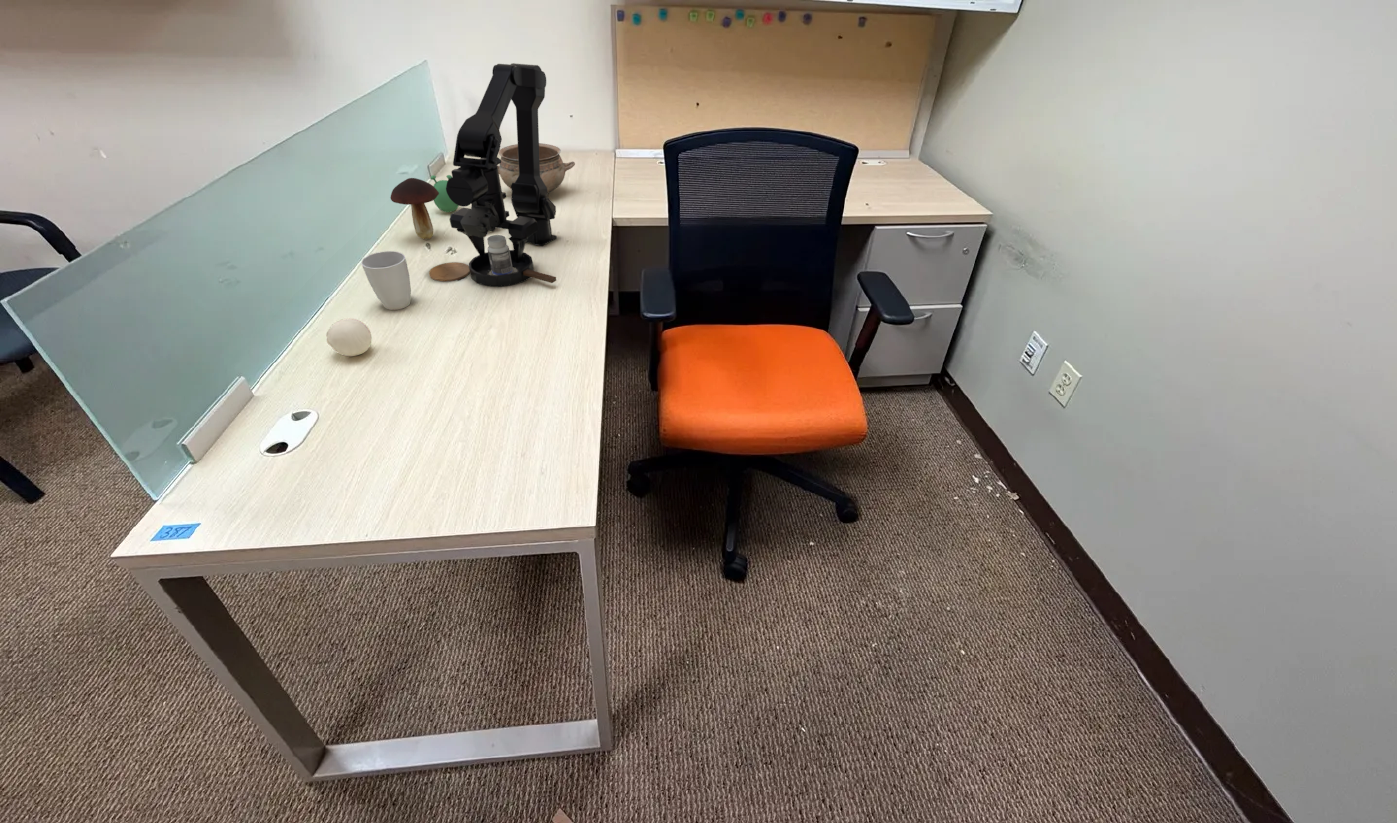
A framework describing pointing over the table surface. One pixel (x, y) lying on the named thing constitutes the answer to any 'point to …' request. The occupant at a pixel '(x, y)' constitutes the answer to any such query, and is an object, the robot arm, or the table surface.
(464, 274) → the disc
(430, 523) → the table surface
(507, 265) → the pill bottle
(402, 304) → the cup
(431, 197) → the decorative mushroom
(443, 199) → the alien toy
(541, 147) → the cooking pot
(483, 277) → the pan
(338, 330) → the cream oval shape
